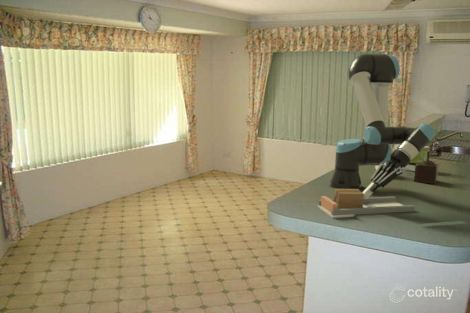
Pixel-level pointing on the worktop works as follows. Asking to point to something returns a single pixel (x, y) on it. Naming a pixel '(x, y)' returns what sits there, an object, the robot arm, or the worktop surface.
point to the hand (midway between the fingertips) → (364, 196)
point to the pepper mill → (427, 169)
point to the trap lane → (364, 207)
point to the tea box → (417, 159)
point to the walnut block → (348, 198)
